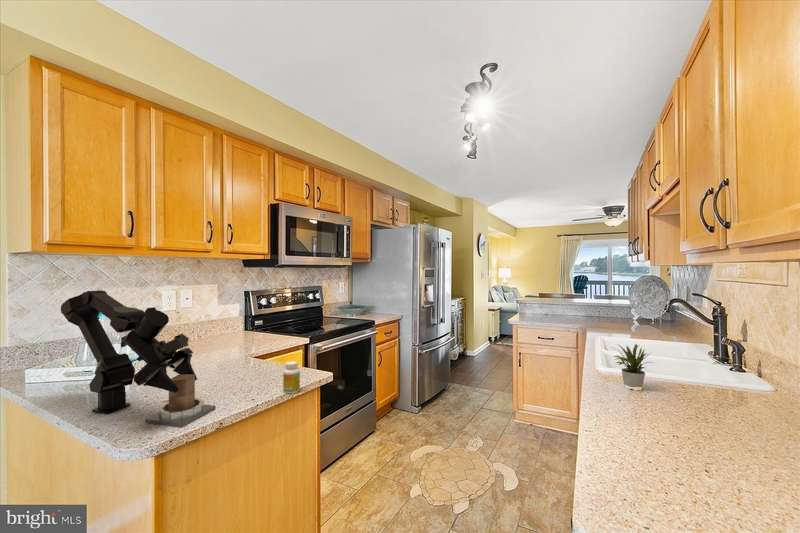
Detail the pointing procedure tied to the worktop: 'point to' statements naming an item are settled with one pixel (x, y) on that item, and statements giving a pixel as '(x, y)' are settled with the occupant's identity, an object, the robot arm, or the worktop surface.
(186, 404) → the upright wooden block
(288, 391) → the supplement bottle
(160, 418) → the duct collar
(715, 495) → the worktop surface
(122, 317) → the robot arm
